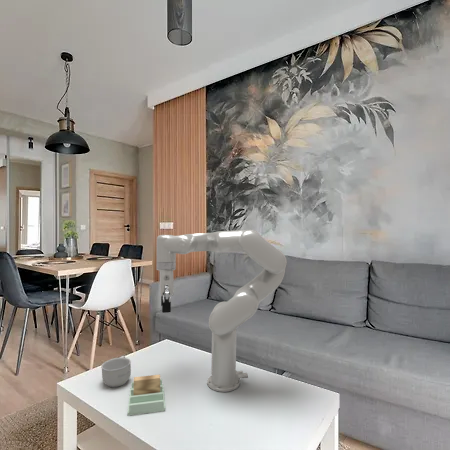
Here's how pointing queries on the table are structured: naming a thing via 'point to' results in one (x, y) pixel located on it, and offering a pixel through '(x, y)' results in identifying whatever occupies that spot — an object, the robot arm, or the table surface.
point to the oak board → (146, 384)
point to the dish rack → (146, 402)
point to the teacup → (116, 371)
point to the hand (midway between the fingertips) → (165, 308)
